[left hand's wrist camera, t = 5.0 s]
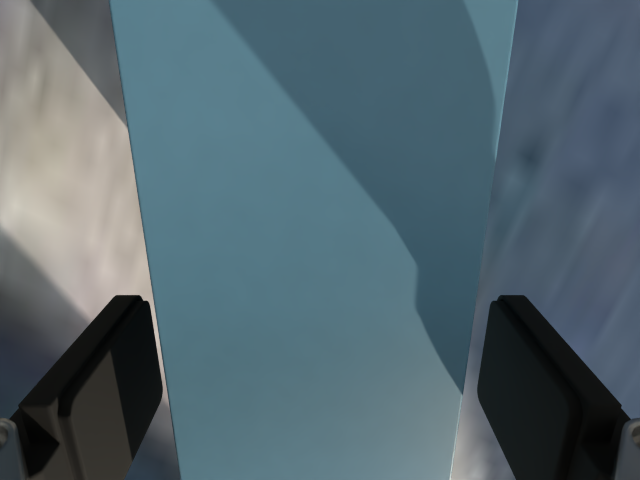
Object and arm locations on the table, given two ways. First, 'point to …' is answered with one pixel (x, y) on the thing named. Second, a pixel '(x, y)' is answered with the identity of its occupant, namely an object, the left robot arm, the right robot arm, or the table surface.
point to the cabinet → (314, 223)
